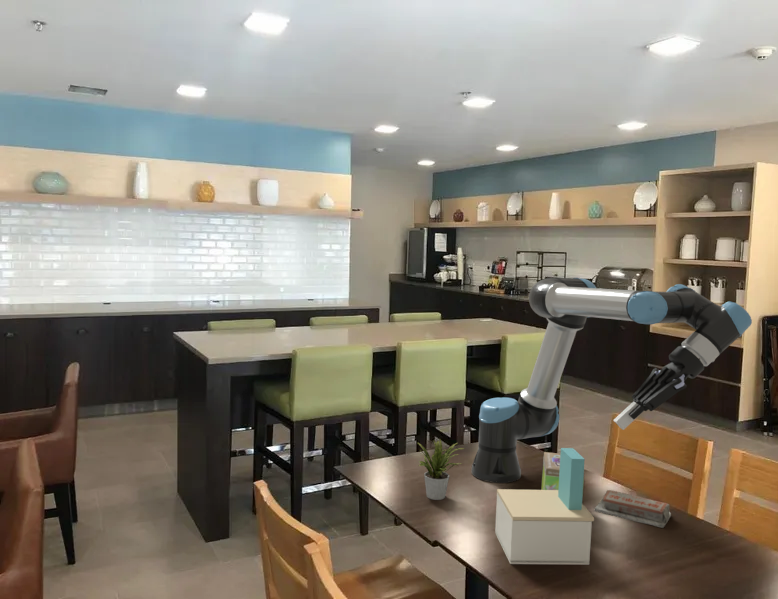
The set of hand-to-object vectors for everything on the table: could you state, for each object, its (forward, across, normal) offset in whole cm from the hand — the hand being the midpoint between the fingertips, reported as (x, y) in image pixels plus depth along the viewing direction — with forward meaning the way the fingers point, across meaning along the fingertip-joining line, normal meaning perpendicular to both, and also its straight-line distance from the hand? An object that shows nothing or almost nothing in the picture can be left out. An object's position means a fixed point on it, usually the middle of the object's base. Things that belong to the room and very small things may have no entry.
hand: (618, 425), depth 154 cm
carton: (+33, 0, -9) cm, 34 cm away
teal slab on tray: (+26, 0, -2) cm, 26 cm away
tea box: (+26, +20, -17) cm, 37 cm away
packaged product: (+12, +21, -32) cm, 40 cm away
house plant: (+48, +30, +5) cm, 57 cm away
